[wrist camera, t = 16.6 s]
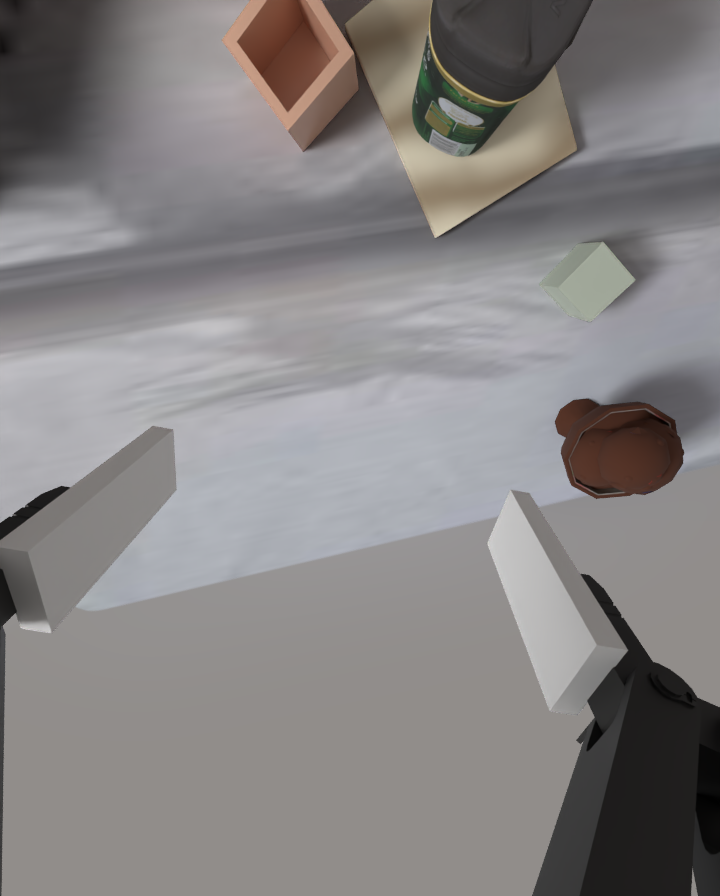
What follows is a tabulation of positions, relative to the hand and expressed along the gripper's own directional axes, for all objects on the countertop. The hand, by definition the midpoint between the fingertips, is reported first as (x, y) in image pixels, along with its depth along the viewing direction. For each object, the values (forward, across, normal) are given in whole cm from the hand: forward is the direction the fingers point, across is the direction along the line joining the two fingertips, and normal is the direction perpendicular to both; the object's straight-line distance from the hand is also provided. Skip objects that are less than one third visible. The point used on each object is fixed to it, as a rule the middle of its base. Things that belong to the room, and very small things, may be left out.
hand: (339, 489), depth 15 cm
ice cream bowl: (+33, +28, -5) cm, 43 cm away
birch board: (+33, +5, +22) cm, 40 cm away
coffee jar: (+32, +4, +22) cm, 39 cm away
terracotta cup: (+33, -10, +21) cm, 40 cm away
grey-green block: (+33, +21, +10) cm, 40 cm away
